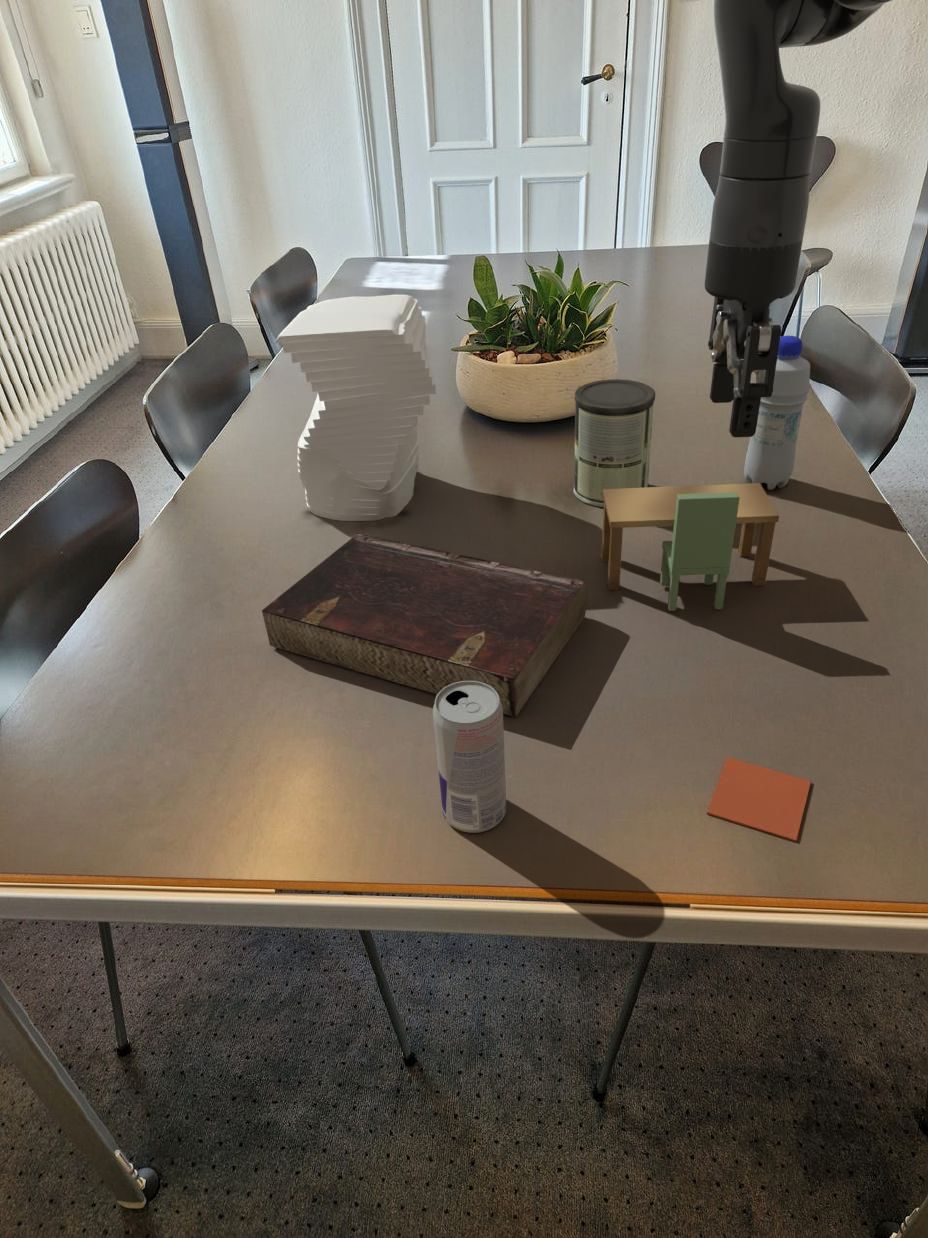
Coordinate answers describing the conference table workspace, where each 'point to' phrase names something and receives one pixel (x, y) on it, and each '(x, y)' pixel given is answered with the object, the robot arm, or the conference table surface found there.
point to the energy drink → (470, 755)
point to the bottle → (779, 419)
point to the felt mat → (760, 798)
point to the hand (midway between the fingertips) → (731, 417)
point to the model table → (660, 511)
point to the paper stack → (361, 403)
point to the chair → (700, 542)
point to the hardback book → (429, 617)
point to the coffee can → (611, 437)
